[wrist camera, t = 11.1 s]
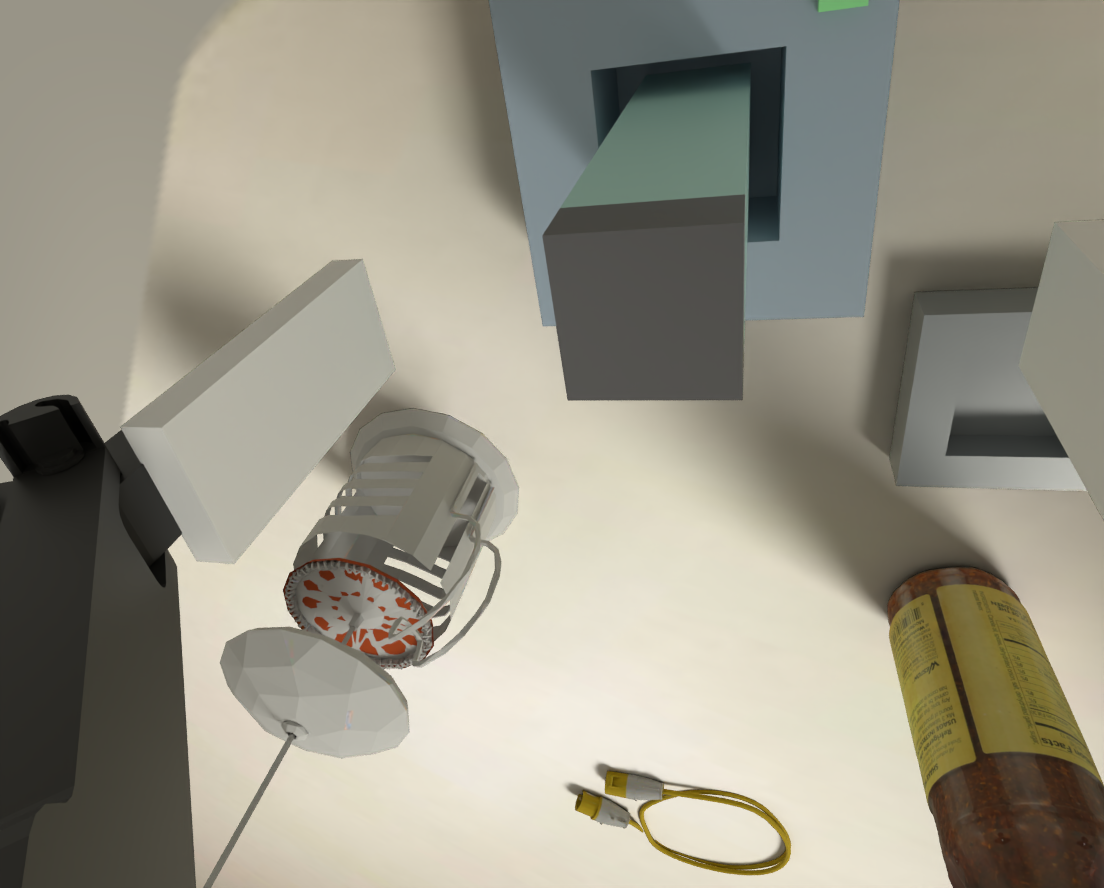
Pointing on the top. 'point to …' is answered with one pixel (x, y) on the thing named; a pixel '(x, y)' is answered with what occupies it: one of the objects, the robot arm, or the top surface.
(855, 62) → the port
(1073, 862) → the sauce bottle
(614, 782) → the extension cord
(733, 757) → the top surface
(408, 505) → the french press
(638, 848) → the top surface
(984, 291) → the holster
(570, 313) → the plug
